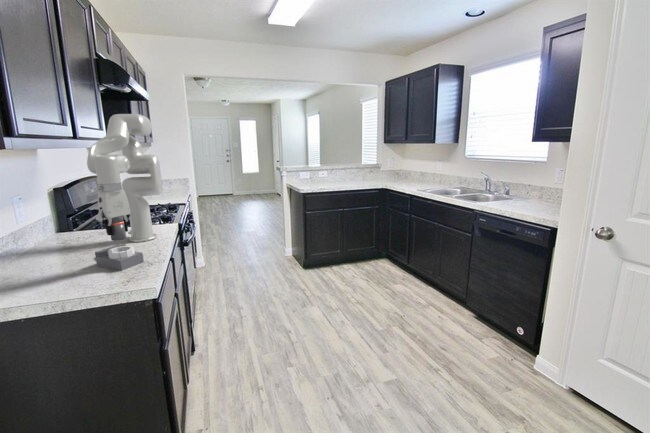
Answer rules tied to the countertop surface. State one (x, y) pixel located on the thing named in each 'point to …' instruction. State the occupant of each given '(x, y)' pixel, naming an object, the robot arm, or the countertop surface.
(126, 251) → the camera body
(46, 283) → the countertop surface
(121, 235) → the lens
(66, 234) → the countertop surface
